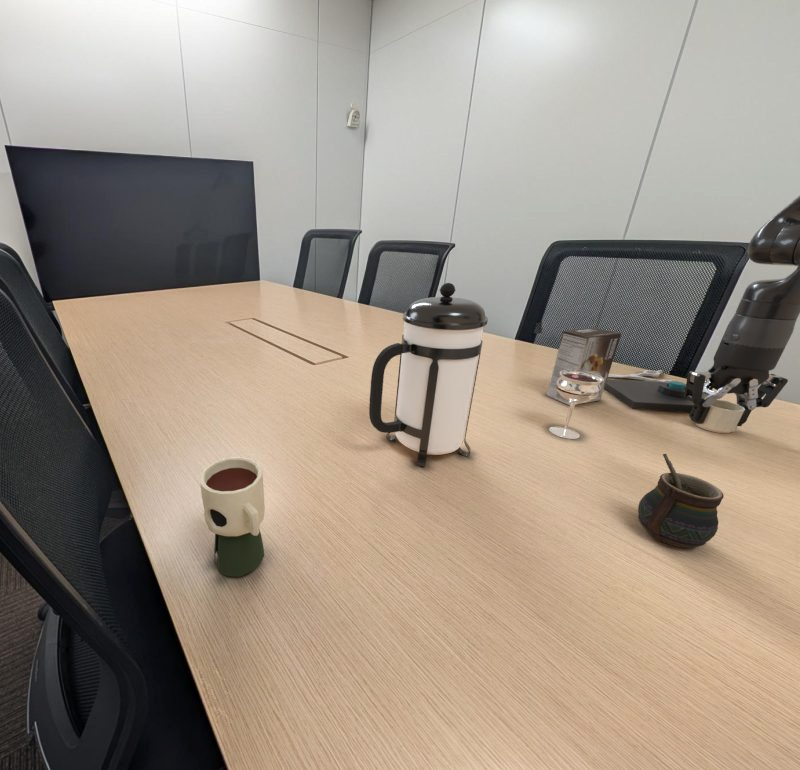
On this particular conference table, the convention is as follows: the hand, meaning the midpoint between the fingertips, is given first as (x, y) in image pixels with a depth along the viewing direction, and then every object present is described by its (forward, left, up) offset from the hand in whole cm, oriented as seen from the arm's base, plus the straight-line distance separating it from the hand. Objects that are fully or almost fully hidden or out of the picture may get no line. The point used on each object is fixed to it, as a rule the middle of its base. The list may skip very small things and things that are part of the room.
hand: (714, 422), depth 74 cm
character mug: (+82, +49, -1) cm, 96 cm away
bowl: (0, 0, -1) cm, 1 cm away
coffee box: (+20, -11, -1) cm, 23 cm away
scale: (+3, -14, -1) cm, 14 cm away
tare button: (-2, -14, +2) cm, 14 cm away
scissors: (0, -27, -1) cm, 27 cm away
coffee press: (+57, +18, -1) cm, 60 cm away
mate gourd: (+28, +34, -1) cm, 44 cm away
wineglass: (+29, +7, -1) cm, 30 cm away
